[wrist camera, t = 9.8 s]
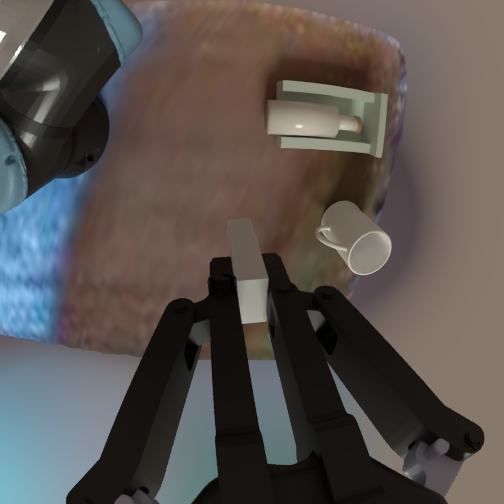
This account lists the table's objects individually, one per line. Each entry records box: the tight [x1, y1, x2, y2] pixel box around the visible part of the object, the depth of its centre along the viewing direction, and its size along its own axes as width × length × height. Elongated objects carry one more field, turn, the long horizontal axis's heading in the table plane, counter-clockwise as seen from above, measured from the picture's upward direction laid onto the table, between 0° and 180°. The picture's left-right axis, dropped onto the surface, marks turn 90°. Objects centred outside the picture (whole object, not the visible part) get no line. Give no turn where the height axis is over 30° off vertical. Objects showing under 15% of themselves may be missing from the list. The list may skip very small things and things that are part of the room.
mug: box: [315, 201, 391, 275], centre depth 45 cm, size 12×8×12 cm
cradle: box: [275, 80, 388, 158], centre depth 37 cm, size 16×10×6 cm, turn 89°
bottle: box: [265, 100, 362, 138], centre depth 37 cm, size 5×5×14 cm
